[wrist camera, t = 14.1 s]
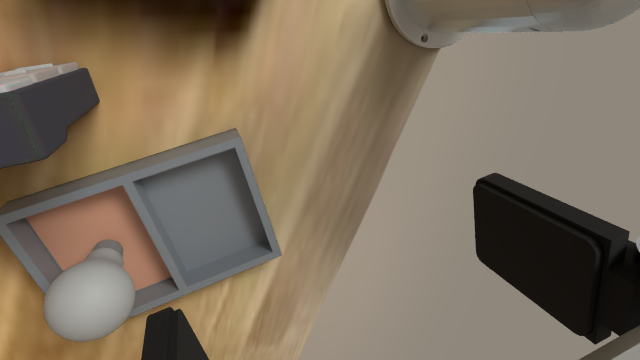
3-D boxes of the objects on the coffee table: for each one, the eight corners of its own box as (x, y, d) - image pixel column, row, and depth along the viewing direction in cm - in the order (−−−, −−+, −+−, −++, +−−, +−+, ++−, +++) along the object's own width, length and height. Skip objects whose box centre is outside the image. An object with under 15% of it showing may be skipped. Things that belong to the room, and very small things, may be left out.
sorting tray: (235, 128, 36) (240, 136, 33) (274, 239, 42) (281, 255, 39) (7, 201, 32) (-12, 219, 29) (87, 313, 38) (78, 338, 35)
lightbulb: (143, 217, 35) (127, 287, 26) (146, 269, 37) (132, 352, 28) (69, 219, 33) (22, 297, 24) (77, 275, 35) (37, 367, 26)
